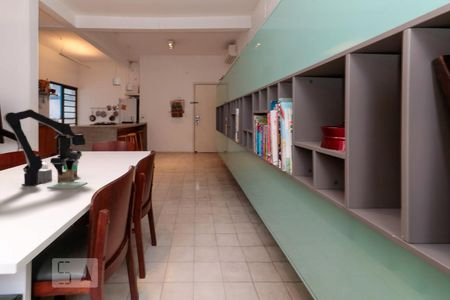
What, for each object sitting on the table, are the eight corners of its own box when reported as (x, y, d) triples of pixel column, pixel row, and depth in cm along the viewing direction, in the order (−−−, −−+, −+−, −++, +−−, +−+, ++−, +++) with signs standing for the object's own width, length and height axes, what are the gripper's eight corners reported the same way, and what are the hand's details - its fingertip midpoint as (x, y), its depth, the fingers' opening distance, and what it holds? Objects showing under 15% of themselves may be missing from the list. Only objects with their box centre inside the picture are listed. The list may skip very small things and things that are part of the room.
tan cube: (68, 182, 175) (67, 171, 174) (57, 181, 175) (57, 171, 175) (73, 180, 181) (73, 169, 180) (63, 179, 181) (63, 169, 181)
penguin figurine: (47, 160, 196) (51, 164, 187) (47, 174, 197) (51, 178, 188) (35, 161, 192) (39, 165, 182) (36, 174, 193) (39, 179, 184)
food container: (73, 178, 187) (72, 161, 186) (62, 177, 187) (62, 161, 186) (82, 174, 199) (82, 158, 198) (73, 174, 199) (72, 158, 199)
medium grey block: (45, 181, 176) (45, 171, 175) (35, 181, 176) (34, 170, 175) (52, 179, 182) (51, 169, 181) (42, 179, 182) (41, 169, 181)
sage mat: (73, 188, 159) (73, 187, 158) (47, 188, 159) (47, 186, 159) (87, 183, 172) (87, 182, 172) (62, 182, 173) (62, 181, 173)
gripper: (69, 148, 167) (70, 177, 168) (86, 145, 185) (87, 171, 187) (49, 147, 167) (50, 176, 169) (68, 145, 186) (69, 171, 187)
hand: (65, 173), depth 178 cm, fingers open, 9 cm apart
